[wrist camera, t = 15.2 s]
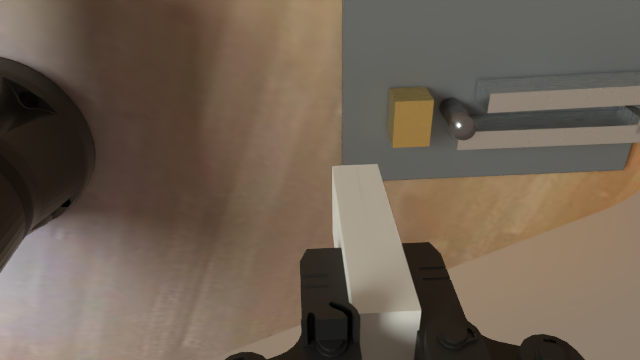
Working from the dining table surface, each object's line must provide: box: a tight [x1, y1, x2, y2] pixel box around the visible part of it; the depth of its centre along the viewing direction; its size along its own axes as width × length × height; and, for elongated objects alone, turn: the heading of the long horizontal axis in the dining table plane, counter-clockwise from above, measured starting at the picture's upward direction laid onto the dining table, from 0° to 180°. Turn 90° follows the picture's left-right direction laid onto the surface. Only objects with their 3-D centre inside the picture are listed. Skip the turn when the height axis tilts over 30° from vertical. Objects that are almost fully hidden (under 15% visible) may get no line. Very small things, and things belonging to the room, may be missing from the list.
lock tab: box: [387, 87, 434, 148], centre depth 42 cm, size 3×4×3 cm
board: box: [342, 0, 640, 181], centre depth 43 cm, size 26×18×1 cm
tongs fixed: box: [439, 97, 640, 150], centre depth 42 cm, size 18×3×4 cm, turn 91°
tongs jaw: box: [476, 71, 640, 113], centre depth 42 cm, size 15×2×3 cm, turn 92°
